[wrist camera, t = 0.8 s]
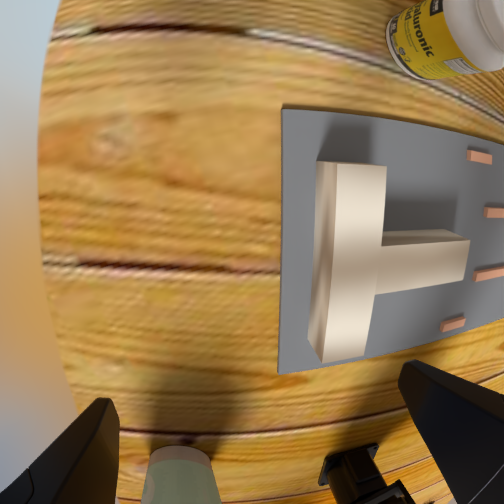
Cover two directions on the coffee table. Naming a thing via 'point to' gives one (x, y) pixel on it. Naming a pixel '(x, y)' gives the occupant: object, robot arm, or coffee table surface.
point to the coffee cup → (180, 477)
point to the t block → (366, 257)
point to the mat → (394, 226)
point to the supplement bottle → (448, 38)
